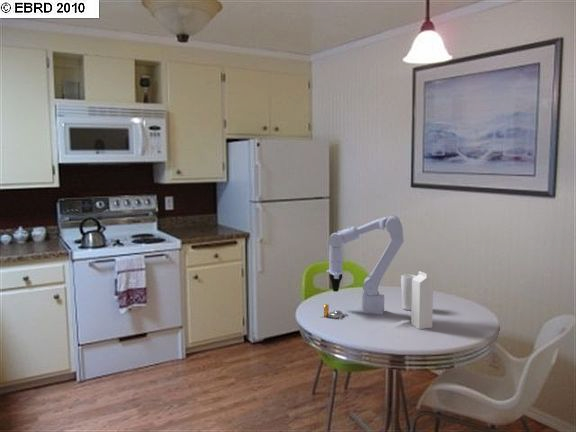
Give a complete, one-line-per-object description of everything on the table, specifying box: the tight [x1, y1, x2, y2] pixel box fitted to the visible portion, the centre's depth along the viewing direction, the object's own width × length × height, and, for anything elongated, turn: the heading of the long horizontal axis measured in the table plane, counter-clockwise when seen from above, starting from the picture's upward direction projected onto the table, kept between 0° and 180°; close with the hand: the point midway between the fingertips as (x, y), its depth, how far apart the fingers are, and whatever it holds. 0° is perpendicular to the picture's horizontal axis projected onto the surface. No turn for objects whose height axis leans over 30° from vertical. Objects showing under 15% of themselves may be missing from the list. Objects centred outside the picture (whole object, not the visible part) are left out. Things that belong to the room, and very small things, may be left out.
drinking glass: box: [400, 273, 417, 311], centre depth 216 cm, size 7×7×15 cm
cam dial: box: [323, 304, 348, 320], centre depth 204 cm, size 10×8×5 cm
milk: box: [410, 270, 434, 330], centre depth 193 cm, size 6×6×22 cm
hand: (335, 291), depth 213 cm, fingers closed
